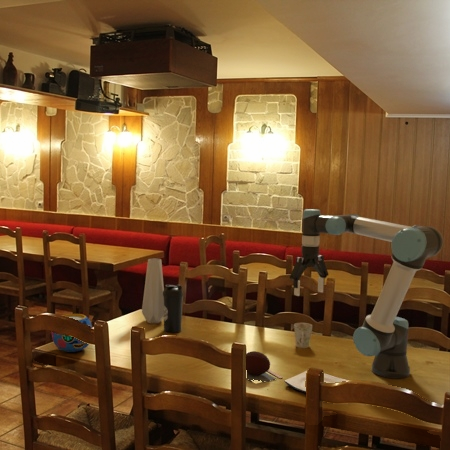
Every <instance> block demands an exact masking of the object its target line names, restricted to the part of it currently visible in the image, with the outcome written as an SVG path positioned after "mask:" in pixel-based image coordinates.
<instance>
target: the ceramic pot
mask: <svg viewBox="0 0 450 450" xmlns="http://www.w3.org/2000/svg"><path fill="white" fill-rule="evenodd" d="M61 316H65V317H69V318H73V319H75V320H78V321H79V322H81V323H83V324H86V325H88V326H90V327H91V328H93V325H92V322H91V321H90V319H89V317H87V316H86V315H84V314H81V313H68V314H62V315H61ZM51 338H52V341H53V344H54V345H55V347H56V348H57V349H58V350H61V351H64V352H67V353H76V352H80V351H82V350H84V349H86V348H87V347H88V346H89V345H90V343H89V344H87V343H84V342H82V341H80V340H78V339H76V338H74V337H71V336H65V335H60V334H56V333H53V332H52V331H51Z"/></svg>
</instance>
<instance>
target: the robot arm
mask: <svg viewBox="0 0 450 450" xmlns="http://www.w3.org/2000/svg"><path fill="white" fill-rule="evenodd" d="M301 221H302V223H301V224H302V230H301V231H302V233H301V234H302V235H301V244H302V245H301V254H302V256H301V257H299V256H297V257H295V263H294V265H293V268H292V271H291V273H290V275H289V279H290V280H293V284H292V285H293V289H294V290H293V295H294V296H296V297H300V295H301V294H300V291H301V290H300V289H301V280H300V278H301V276H302V275H303V273H305V271H306V269H308V268H311V267H312V268H313V269H314V270H315V271H316V273H317V274H318V278H317V293H321V294H322V293H324V286H325V279H326V278H327V276H328V277H329V271H328V268H327V265H326V263H325V259H324V258H325V257H324V255H321V254H320V246H319V245H320V241H321V239H320V237H321V235H320V234H327V235H332V236H340V235H342V234H344V233H349V234H354V235H359V236H365V237H368V238H371V239H377V240H381V241H386V242H391V244H390V247H391V252H392V254H391V256H390V257H391V260H392V261H393V262H392V264H391V267H390V269H389V272H388V274H387V276H386V279H385V281H384V283H383V287H382V289H381V291H380V293H379V295H378V299H377V301H376V303H375V305H374V308H373V310H372V312H371V314H367V315H366V317H365V319H364V321H363V324H362V326H359V327H358V328H356V329H355V330H354V332H353V335H352V340H353V344H354V345H355V348H356V350H357V351H358V353H360V354H362V355H363V356H365V357H374V359H373V361H372V364H371V372H373V374H375V375H377V376H379V377H384V378H388V379H405V378H408V377H409V376H410V375H411V367H410V366H409V361H408V356H407V355H408V354H407V351H408V340H409V339H408V338H409V330H410V329H409V321H408V320H407V319H405V318H402V317H399V316H397V315H398V313H399V311H400V309H401V306H402V303H403V302H404V299H405V297H406V294H407V293H408V291H409V288H410V285H411V283H412V281H413V279H414V277H415V274H416V273H417V271H420V270H422V269H423V267H424V265H425V263H426V260H427V258H432V257H434V256H437V255H438V254H439V253H440V252H441V250H442V249H443V246H444V236H443V235H442V233H441V231H439V229H437V228H435V227H433V226H429V225H427V226H424V225H418V224H414V225H413V226H410V225H405V224H404V225H403V224H399V223H395V222H390V221H383V220H378V219H374V218H367V217H362V216H360V215H358V214H353V213H351V214H341V215H339V214H338V215H337V214H336V215H323V214H322V213H321V210H320V209H314V208H313V209H311V208H309V209H308V208H306V209H304V210H303V213H302V220H301Z"/></svg>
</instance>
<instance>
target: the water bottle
mask: <svg viewBox="0 0 450 450" xmlns="http://www.w3.org/2000/svg"><path fill="white" fill-rule="evenodd" d="M184 293H185V292H184V290H183V287H182V285H181V284H179V283H178V284H176V285H174V284H165V287H164V291H163V297H164V317H163V332H165V333H167V334H177V333H180V332H182V319H183V317H182V316H183V297H184Z"/></svg>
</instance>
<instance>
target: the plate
mask: <svg viewBox="0 0 450 450" xmlns="http://www.w3.org/2000/svg"><path fill="white" fill-rule="evenodd" d="M306 373H307V370H305V371H303V372H301V373H299V374H296V375H295V376H292V377H289V378H287V379H285V380H284V383H285V384H286V385H287V386H289V387H291V388H293V390H294V389H295V390H296V391H300V392H302V393H304V392H305V393H304V394H307V393H306V387H305V381H306ZM323 373H324V372H323ZM347 380H348V379H344V378H341V377H337V376H333V375H331V374H327V373H326V372H325V373H324V382H326V383H335V382H342V381H347Z"/></svg>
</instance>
